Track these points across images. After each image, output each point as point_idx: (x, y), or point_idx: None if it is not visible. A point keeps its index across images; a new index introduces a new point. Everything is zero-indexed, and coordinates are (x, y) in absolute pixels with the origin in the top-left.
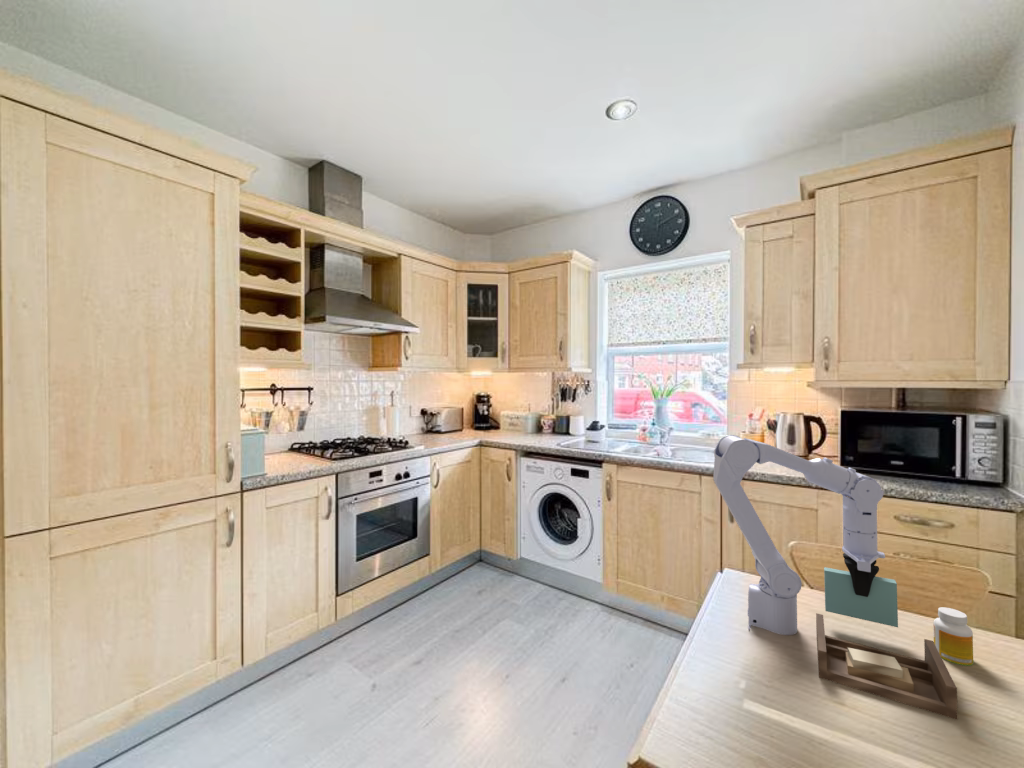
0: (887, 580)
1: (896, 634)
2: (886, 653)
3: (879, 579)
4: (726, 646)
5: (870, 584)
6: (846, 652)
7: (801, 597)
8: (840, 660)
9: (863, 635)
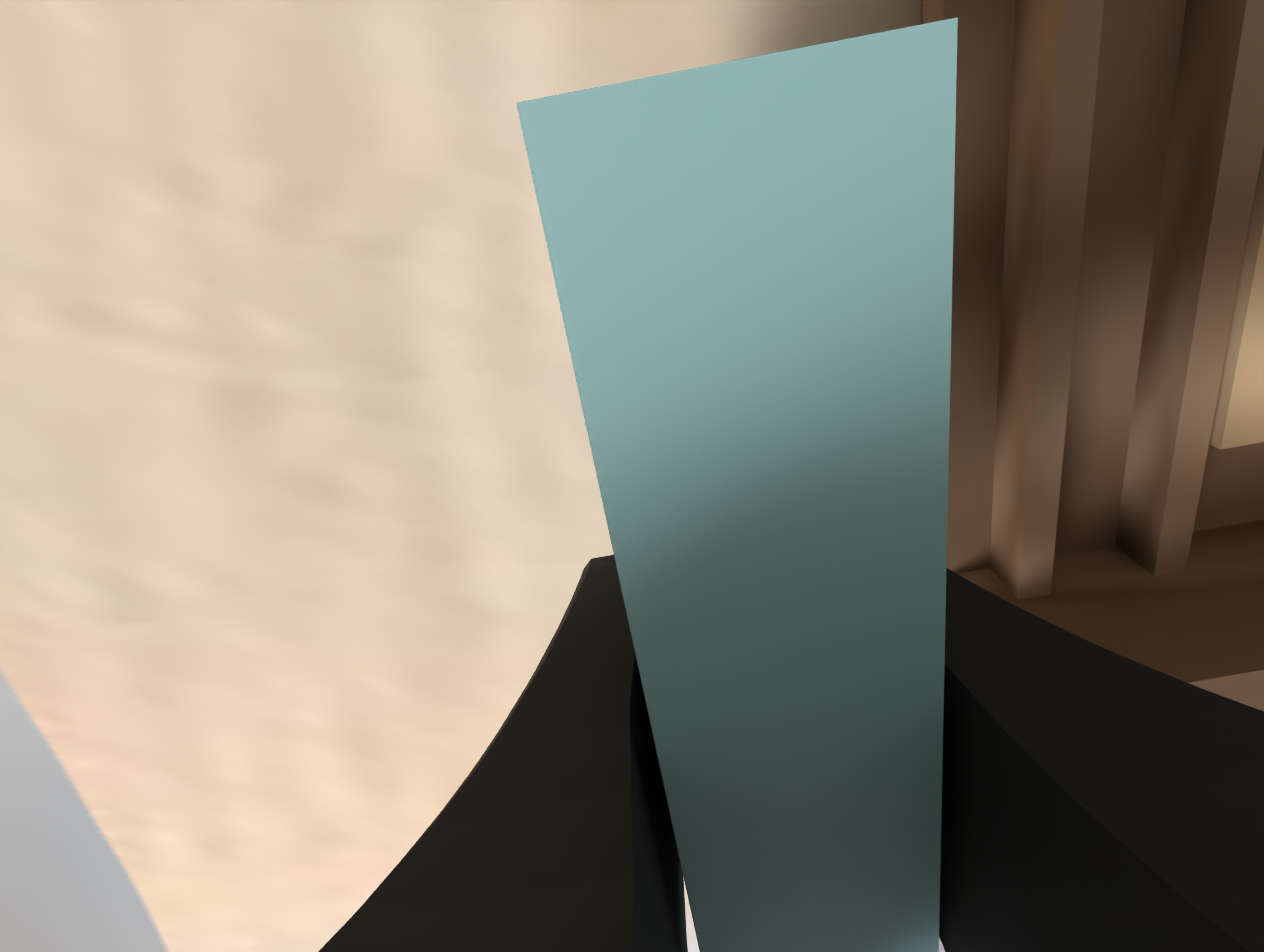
0: (786, 343)
1: (332, 131)
2: (1080, 180)
3: (851, 543)
4: None
5: (1043, 630)
6: (1238, 442)
7: (268, 776)
8: (1209, 449)
9: None
